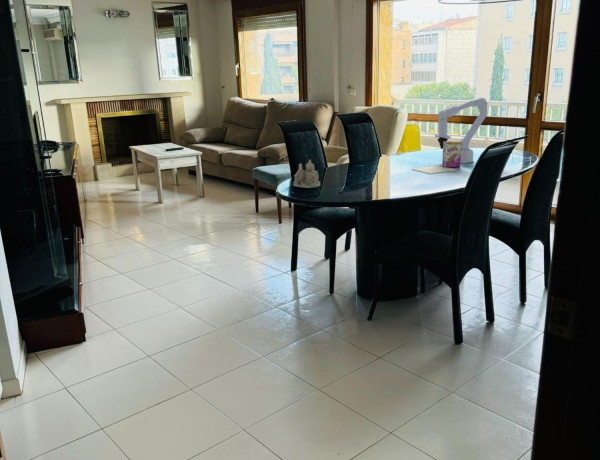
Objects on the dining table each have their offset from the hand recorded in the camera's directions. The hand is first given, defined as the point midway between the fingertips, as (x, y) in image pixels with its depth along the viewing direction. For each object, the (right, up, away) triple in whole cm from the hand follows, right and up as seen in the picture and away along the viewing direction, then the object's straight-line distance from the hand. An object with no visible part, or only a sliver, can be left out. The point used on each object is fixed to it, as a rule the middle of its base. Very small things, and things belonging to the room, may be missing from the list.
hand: (442, 148), depth 373 cm
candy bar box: (+1, -15, -17) cm, 23 cm away
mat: (-11, -17, -22) cm, 30 cm away
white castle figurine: (-93, -29, -44) cm, 107 cm away
